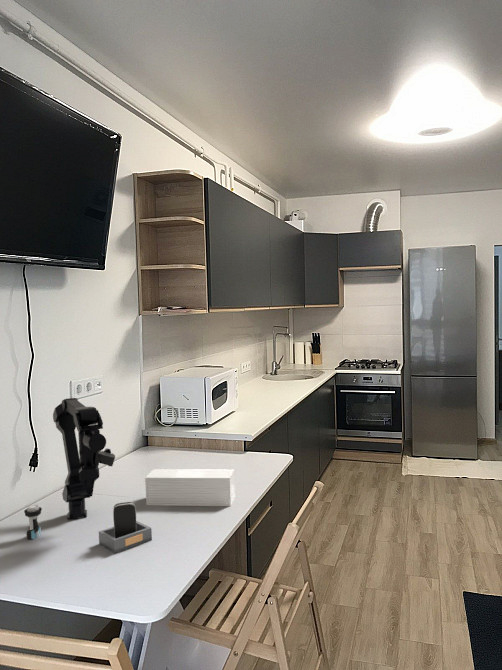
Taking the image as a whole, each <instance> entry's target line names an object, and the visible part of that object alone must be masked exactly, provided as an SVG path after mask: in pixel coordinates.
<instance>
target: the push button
mask: <svg viewBox="0 0 502 670" xmlns="http://www.w3.org/2000/svg"><path fill="white" fill-rule="evenodd" d="M42 509H43V508H42V507H40V506H39V505H38V504H31V505H29V506H27V507H26V509H24V510H23V512H24V516H25V517H27V518H28V520H29V521H28V522H29V526H28V530H26V539H27V540H35V539H36V538H37V537H40V535H41V534H42V533H41V532H42V529H41V528H42V527H41V526H40V525H39V516H40V515H41V513H42Z"/></svg>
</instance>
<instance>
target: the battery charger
mask: <svg viewBox="0 0 502 670" xmlns="http://www.w3.org/2000/svg"><path fill="white" fill-rule="evenodd" d="M112 512H113V513H112V516H113V527H114V530H115V538H119V537H122V536H125V535H128V534H131V533H134V532H136V521H137V510H136V505H135V503H134V502H133V501H124V502H118V503H116V504H114V506H113V509H112Z"/></svg>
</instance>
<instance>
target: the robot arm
mask: <svg viewBox="0 0 502 670" xmlns="http://www.w3.org/2000/svg"><path fill="white" fill-rule="evenodd" d="M52 419H53V423H54V424H55V428H56V429H57V430H58V431H59V432H60V434H61V436H62V442H63V448H64V449H63V450H64V454H65V461H66V468H67V472H68V473H67V475H66V478H65V480H64V487H63V491H62V493H61V494H62V499H63V501H64V502H65V503H67V505H68V512H67V520H73V519H81V518H87V516H88V510H87V509H86V499H88V498H91V497H93V494H94V488H95V482H96V481H97V479H99V478H100V468H99V465H100V464H102V465H106V466H108V467H113V465H114V463H115V458H116V455H115V454H114V453H113V452H112V451H111V448H105V447H106V446H107V438H106V437H105V436H104V435H103V434H101V430H103V429H104V427H103V424H104V422H103V420H102V416H101V413H99V410H98V409H97V408H96V407H95V406H86V405H84V404H83V403H81V402H80V401H79V399H78V398H76V397H71V398H69V397H68V398H64V399H62V400H61V403H60V404H59V405H57V406H56V407H55V408H54V410H53V413H52ZM76 429H77V430H76ZM76 431H77V432H78V434H77V435H78V441H77V435H76Z"/></svg>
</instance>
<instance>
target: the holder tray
mask: <svg viewBox="0 0 502 670" xmlns="http://www.w3.org/2000/svg"><path fill="white" fill-rule="evenodd" d="M152 530H153V529H152V527H150V526H148V525H147V524H144V523H143V522H141V521H138V520H136V532H134V533H131V534H128V535H125V536H122V537H119V538H115V530H114V526H112V527H109V528H108V527H107V528H105V529H102V530H99V531H98V544H99V545H101V546H102V547H104V548H105V549H107V550H109V551H110V552H112V553H114V554H117V553H120V552H123V551H126V550H129V549H133V548H135V547H137V546H141V545H143V544H146V543H148V542H151V541H153V537H152V536H153V535H152V534H153V533H152V532H153V531H152Z"/></svg>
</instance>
